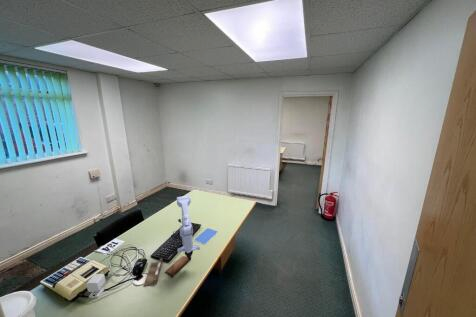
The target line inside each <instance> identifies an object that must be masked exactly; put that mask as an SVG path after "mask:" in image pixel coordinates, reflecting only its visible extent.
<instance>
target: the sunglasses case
mask: <svg viewBox="0 0 476 317" xmlns="http://www.w3.org/2000/svg"><path fill="white" fill-rule="evenodd" d="M190 261H191V260H188V257H187V256H186V255H185V256H184V255H182V256H181V257H179V258H178V259H177V260H175V261H174V262H173V264H172V265H171V266H169V267H168V268H167V269H166V270H165V271H164V274H166V275H167V276H168V277H171V278H174V277H175V276H176V275H177V273H178V272H179V271H180V270H182V269H183V267H184V266H185V265H186V264H188V263H189V262H190Z"/></svg>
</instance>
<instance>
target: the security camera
mask: <svg viewBox="0 0 476 317" xmlns="http://www.w3.org/2000/svg"><path fill="white" fill-rule="evenodd" d="M106 282H107V281H106V276H105V274H104V273H94V274H93V275H92V276H91V277H90V279H88V281H87V282H86V284H85V285H86V289H87V291H88V292H89V293H90V294H89V295H88V298H89V299H99V298H100V297H101V295H102V294H103V292H104V291H105V290H106V289H105V287H103V286H104V285H105V283H106ZM94 293H95V296H93V294H94Z"/></svg>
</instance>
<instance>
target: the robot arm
mask: <svg viewBox="0 0 476 317" xmlns="http://www.w3.org/2000/svg"><path fill="white" fill-rule="evenodd" d="M191 201H192V200H191V196H190V195H189V194H188V195H185V196H184V195H183V196H177V197H176V204H177V207H179V208H180V209H181V225H180V226H179V236H180V238H181V239H182V240H181V241H182V242H181V243H182V245H183V246H181V247H178V248H177V253H181V252H183V253H184V255H185V256H187V257H188V260H190V261H191V259H192V256H193V251H197V250H199V251H200V250H201V246H200V245H197V244H193V243H194V239H193V234H194V231H193V225H192V222H191V216H190V215H189V213H188V212H189V210H188V208H189V206H190V204H191V203H192V202H191Z"/></svg>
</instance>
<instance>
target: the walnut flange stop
mask: <svg viewBox="0 0 476 317" xmlns="http://www.w3.org/2000/svg"><path fill="white" fill-rule="evenodd" d="M163 262H164V261H163V258H159V260H158V261H154V262H150V265H149V266H150V267H149V269H148V272H147V275H146V277H145V280H144V282H143V283H144V284H143V287H148V286H155V285H158V281H159V277H160V274H161V270H162V266H163V264H164V263H163Z"/></svg>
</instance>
